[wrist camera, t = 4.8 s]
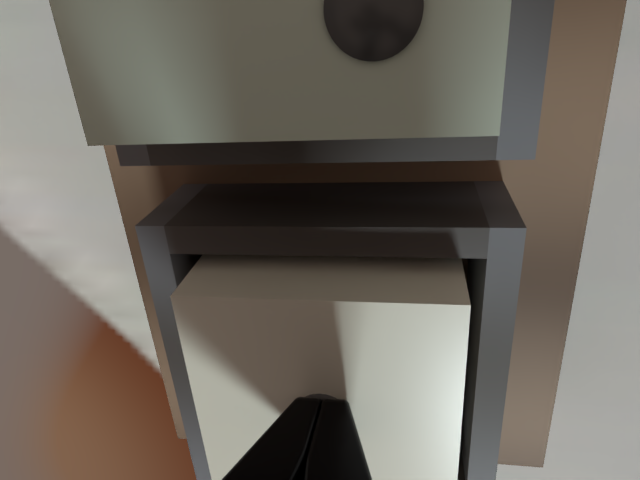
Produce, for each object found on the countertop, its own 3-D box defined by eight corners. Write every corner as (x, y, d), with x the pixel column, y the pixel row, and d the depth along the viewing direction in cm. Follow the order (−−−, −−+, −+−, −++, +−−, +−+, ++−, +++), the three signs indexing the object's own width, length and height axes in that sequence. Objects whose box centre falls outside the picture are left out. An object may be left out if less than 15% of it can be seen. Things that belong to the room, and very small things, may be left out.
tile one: (446, 429, 11) (454, 520, 9) (245, 415, 11) (213, 496, 10) (458, 241, 9) (471, 307, 7) (215, 238, 9) (168, 298, 8)
